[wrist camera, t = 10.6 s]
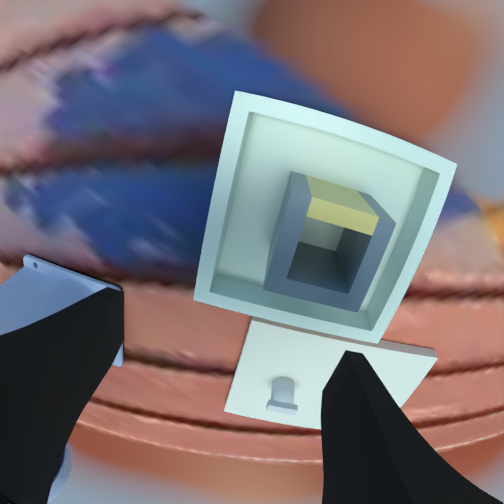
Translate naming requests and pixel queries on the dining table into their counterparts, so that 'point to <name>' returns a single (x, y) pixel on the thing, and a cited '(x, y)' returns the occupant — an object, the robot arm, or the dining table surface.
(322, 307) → the tray
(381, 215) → the collar
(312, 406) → the base
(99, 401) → the dining table surface
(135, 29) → the dining table surface
